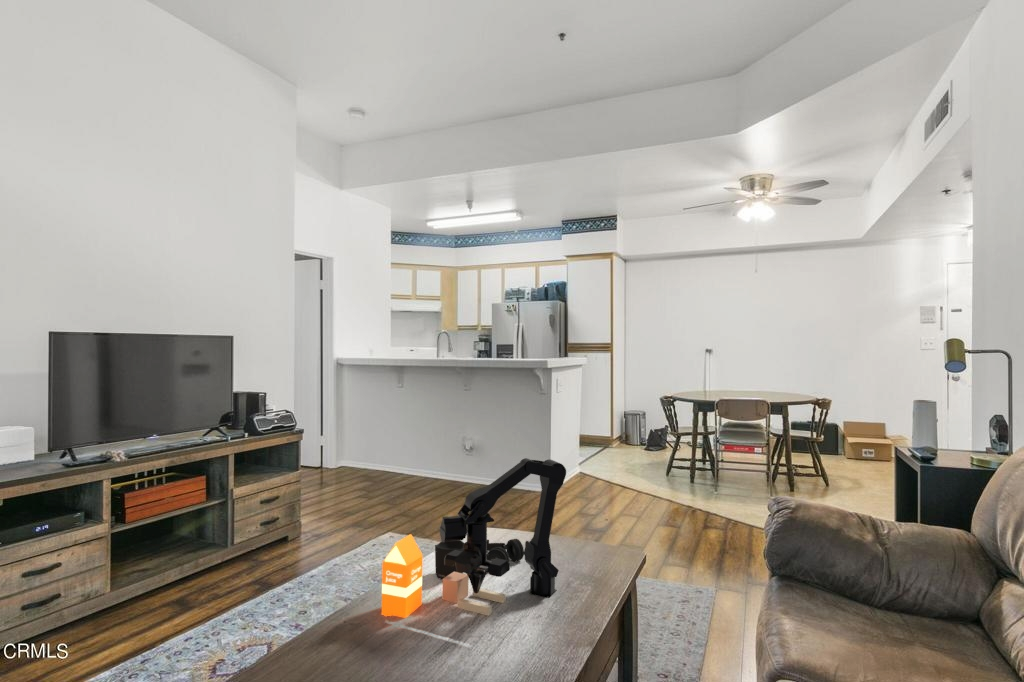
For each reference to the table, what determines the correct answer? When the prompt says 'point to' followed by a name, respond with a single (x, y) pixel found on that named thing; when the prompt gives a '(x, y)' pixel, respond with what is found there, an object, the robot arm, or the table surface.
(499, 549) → the headphones
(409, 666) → the table surface
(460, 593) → the block
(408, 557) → the orange juice
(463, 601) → the beige railed tray
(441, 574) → the pen holder
